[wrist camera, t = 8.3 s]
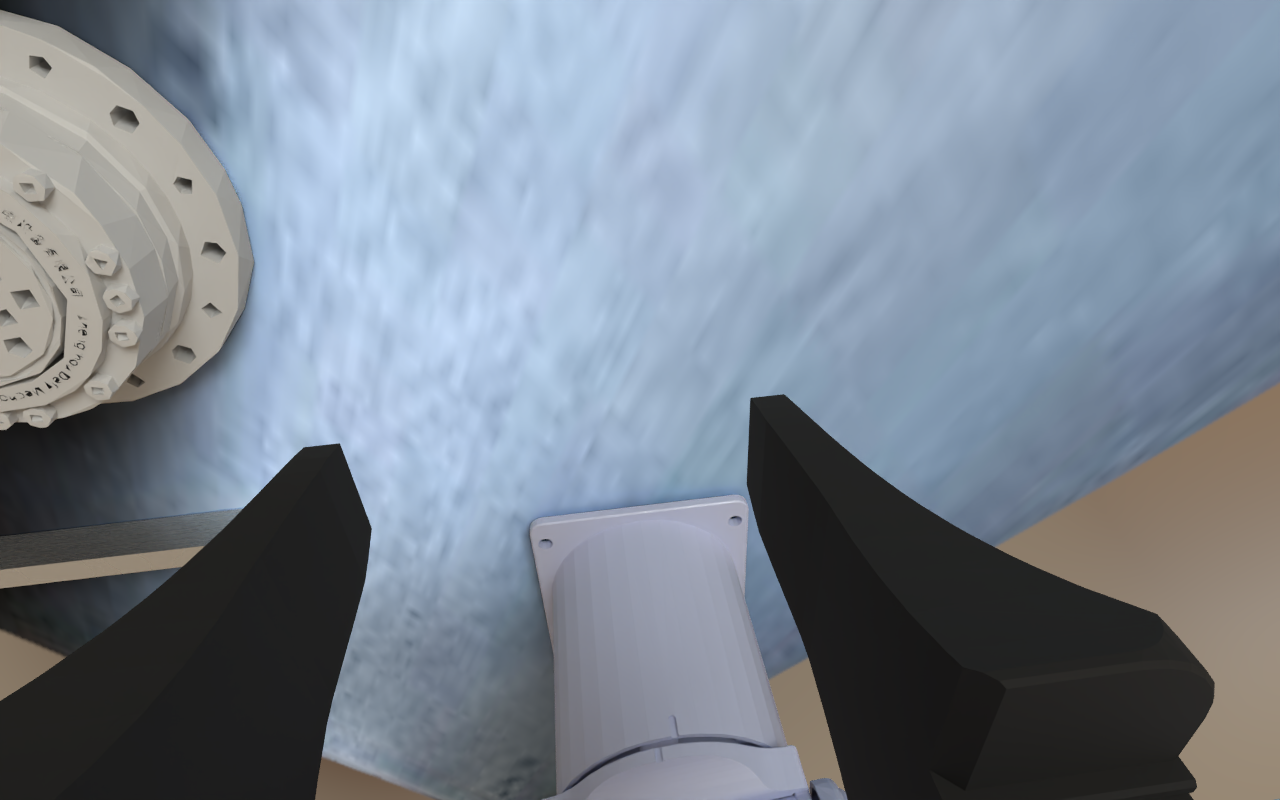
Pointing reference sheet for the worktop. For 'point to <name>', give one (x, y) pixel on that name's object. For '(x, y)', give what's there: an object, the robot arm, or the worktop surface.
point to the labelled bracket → (107, 548)
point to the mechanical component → (105, 232)
